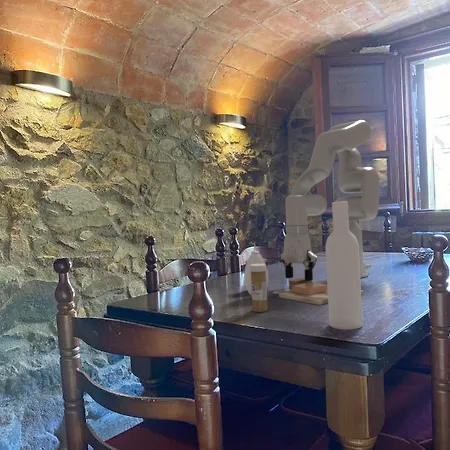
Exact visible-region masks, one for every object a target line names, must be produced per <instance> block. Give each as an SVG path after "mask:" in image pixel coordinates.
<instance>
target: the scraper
mask: <svg viewBox="0 0 450 450" xmlns="http://www.w3.org/2000/svg"><path fill="white" fill-rule="evenodd" d="M312 281H313V280H311V281H305V277H301V278H295V279H290V280H288V283H289V284H288V286H289V288H285V289H280V290H275V291H272V293H271V294H276V295H279V293H284V292H288V291H292V286H293V285H298V284H303V283H308V282H310V283H313V282H312Z"/></svg>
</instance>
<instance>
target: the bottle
mask: <svg viewBox="0 0 450 450" xmlns="http://www.w3.org/2000/svg"><path fill="white" fill-rule="evenodd" d="M331 205H332V206H331V213H332V230H333V231H332V232H331V234H329V236H328V237H327V239H326V242H325V246H324V247H325V248H324V249H325V263H326V283H327V284H326V285H327V287H328V303H327V304H328V323H329V324H328V325H329V327H331V328H333V329H336V330H345V331H349V330H357V329H360V328H362V327H363V325H364V324H363V322H364V321H363V319H364V316H363V306H362V305H363V304H362V295H361V290H362V283H361V278H360V261H359V244H358V241H357V239H356V236H355V235H353V234H352V233H351V232H350V231H349V221H348V208H349V207H348V202H347V201H344V202H335V201H334V202H333V201H332V202H331Z"/></svg>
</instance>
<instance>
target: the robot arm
mask: <svg viewBox="0 0 450 450" xmlns="http://www.w3.org/2000/svg"><path fill="white" fill-rule="evenodd" d="M371 129H372V128H371V126H370V124H369V122H367V121H365V120H364V119H363V120H362V119H359V120H355V121H354V120H353V121H350V122H344V123H339V124H335V125H334V126H331V127H330V128H329V129H328V131H324V132H321V133H320V134H319V135H318V136H317V138H316V140H315V144H314V147H313V151H312V155H311V157H310V158H311V159H310V161H309V165H308V167H307V168H306V169H305V170H304V171H303V172H302V173H301V175H300V176H299V178H298V179H297V180H296V181H295V182H294V184H293V185H292V187H291V191H290V195H287V196H286V197H285V225H286V227H285V231H286V234H285V235H284V239H283V252H282V253H280V258H281V263H282V264H283V267H284V271H285V273H284V274H285V279H293V278H294V267H293V264H299V265H300V264H302V265H303V266H304V268H305V269H304V278H305V281H311V280H312V281H313V280H314V277H313V274H314V273H313V269H315V266H316V263H317V261H318V255H315V254H314V253H313V252H312V251H313V250H312V243H311V237H310V234H309V222H308V221H309V219H308V217H309V216H311V217H312V216H320V215H322V214H324V213H325V211H326V210H327V208H328V203H327V200H326V198H325V196H323V195H320V194H307V193H308V191H310V190H311V189H312V188H313V186H315V185H316V184H319V183H320V182H322V181H323V180H325V179H326V178H328V177H329V176H330V175H331V173H333V167H334V164H335V160H336V156H337V155H338V161H339V162H338V163H339V164H338V189H339V191H340V192H341V193H344V194H358V193H361V195H350V196H349V195H347V196H342V197H341V196H340V197H339V198H337V199H336V200H335V201H334V202H344V201H347V202H348V207H349V208H348V221H349V231H350V232H351V233H352V234H353V235H355V236H356V239H357V241H358V244H359V261H360V279H361V278H366V277H368V275H369V273H368V272H367V271H366V270H369V269H371V264H369V263H366V264H365V263H364V250H363V249H364V248H363V247H364V245H363V232H362V231H363V230H362V228H361V225H360V224H359V223H358V221H371V220H374V219H375V218H376V217H377V216H378V214H379V213H378V212H379V204H380V186H381V185H380V184H381V183H380V177H379V175H380V174H379V173H378V171H377V170H376V169H375V168H373V167H369V166H367V167H366V166H363V167H362V156H361V153H360V151H359V150H358V149H357V148H358V147H359V146H361V145H364V143H367V141H368V140H369V139H370V137H371V133H372V130H371Z"/></svg>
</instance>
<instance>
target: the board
mask: <svg viewBox="0 0 450 450" xmlns="http://www.w3.org/2000/svg"><path fill="white" fill-rule="evenodd" d="M363 295H365V290H363V289H361V296H363ZM278 296H279V298H281V299H282V298H283V299H288V300H291V301H298V302H302V303H307V304H312V305H313V304H314V305H318V306H321V305H326V304H328V287H327V291H326V292H321V293H317V294H312V295H306V294H301V293H295V292H292V291H288V292H284V293H279V294H278Z"/></svg>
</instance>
